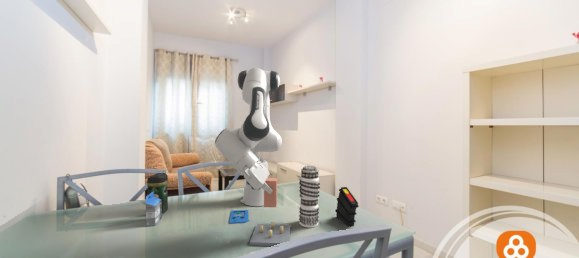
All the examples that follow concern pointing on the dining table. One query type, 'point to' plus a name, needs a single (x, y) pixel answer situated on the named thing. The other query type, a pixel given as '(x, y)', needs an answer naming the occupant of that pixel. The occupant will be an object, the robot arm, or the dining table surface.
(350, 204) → the black ribbed casing
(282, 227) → the plate
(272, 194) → the salmon pink block
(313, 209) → the decorative candle
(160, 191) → the coffee jar
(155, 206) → the label tape box
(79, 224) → the dining table surface
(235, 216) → the handheld gaming device
